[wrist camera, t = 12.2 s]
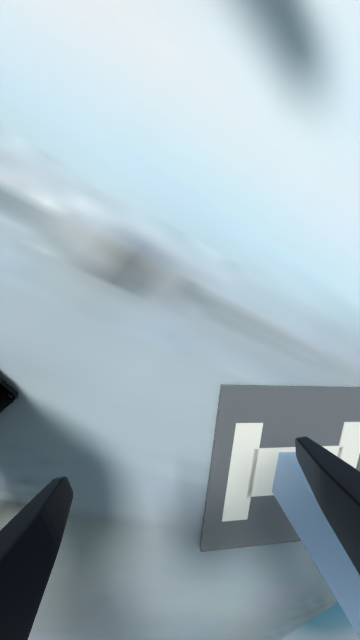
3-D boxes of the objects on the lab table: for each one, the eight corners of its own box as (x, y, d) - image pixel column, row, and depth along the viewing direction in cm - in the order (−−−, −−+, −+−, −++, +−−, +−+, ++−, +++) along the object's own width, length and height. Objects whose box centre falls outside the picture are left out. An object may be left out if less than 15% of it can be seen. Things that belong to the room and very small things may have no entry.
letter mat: (348, 531, 28) (352, 535, 27) (199, 547, 25) (200, 552, 24) (385, 387, 25) (390, 390, 24) (221, 384, 22) (222, 387, 21)
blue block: (310, 489, 25) (477, 698, 12) (271, 491, 24) (407, 718, 12) (319, 450, 24) (506, 632, 12) (279, 452, 24) (432, 649, 11)
